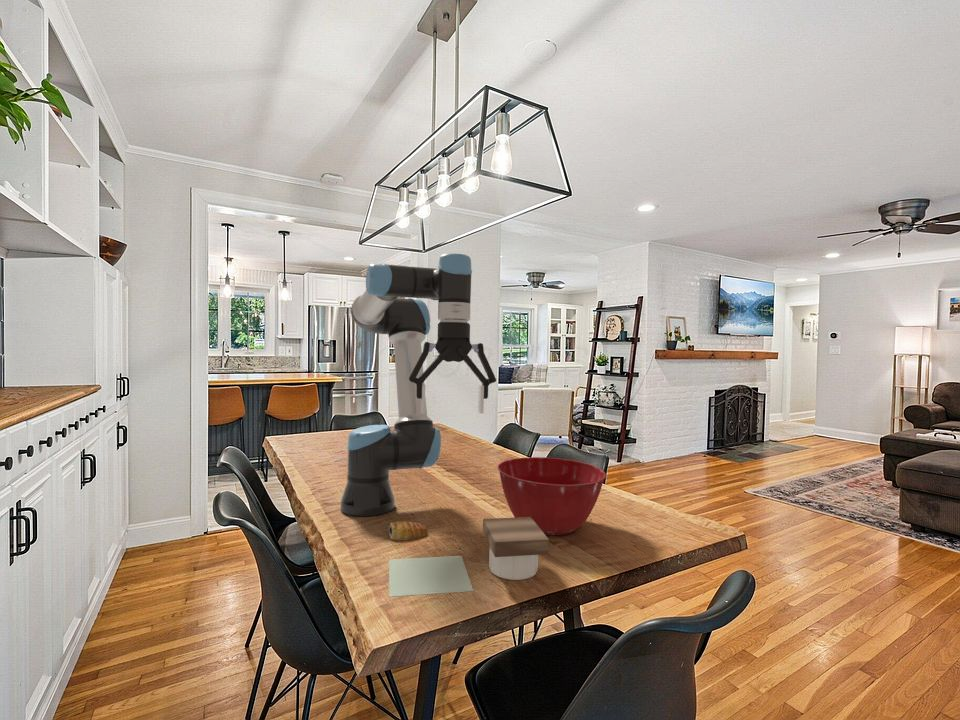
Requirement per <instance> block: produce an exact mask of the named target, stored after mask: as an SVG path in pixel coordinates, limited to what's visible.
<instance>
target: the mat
mask: <svg viewBox="0 0 960 720" xmlns="http://www.w3.org/2000/svg"><path fill="white" fill-rule="evenodd" d="M388 573H389V574H388V590H389V591H388V597H389V598H392V597H393V598H394V597H407V596H409V597H410V596H419V595H420V596H422V595H434V594H435V595H436V594H437V595H438V594H448V593H451V594H452V593H453V594H454V593H462V592H463V593H465V592H474V589H473V586H472V583H471V580H470V577H469V573H468V571H467V568H466V565H465V562H464V560H463V556H462V555H451V556H450V555H448V556H447V555H446V556H429V557H428V556H427V557H413V558H397V559H395V558H394V559H388Z"/></svg>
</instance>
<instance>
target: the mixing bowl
mask: <svg viewBox="0 0 960 720" xmlns="http://www.w3.org/2000/svg"><path fill="white" fill-rule="evenodd" d="M497 470H498V472H499V479H500V482H501V487H502V490H503V494H504V496H505V499H506V502H507V505H508V508H509V509H510V511H511V513H512V515H513V518H518V517H531V518H532V519H533V520H534V522H535V523H536V524H537V525H538V527H539V528H540V529H541V530H542V532H543V533H544V534H545V535H546V536H562V535H568V534H570V533H572V532H573V531H575V530H577V529H580V527H582V526H583V525H584V524H585V522H586V521H587V520H588V518H589V516H590V515H591V513H592V511H593V510H594V507H595V506H596V502H597V501H598V498H599V496H600V493H601V490H602V487H603V484H604V480H605V479H606V477H607V474H606V472H605V471H604V470H603V469H602V468H599V467H598V466H596V465H593V464H589V463H587V462H584V461H583V462H581V461H578V460H574V459H564V458H559V457H558V458H557V457H545V456H544V457H542V456H541V457H540V456H538V457H537V456H535V457H534V456H533V457H532V456H531V457H530V456H529V457H517V458H511V459H507V460H503V461H501V462H500V463H498V464H497Z"/></svg>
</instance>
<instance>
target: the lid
mask: <svg viewBox="0 0 960 720" xmlns="http://www.w3.org/2000/svg"><path fill="white" fill-rule="evenodd" d="M482 534H483V535H484V536H483V537H484V538H485V539H486V542H487V544H488V546H489V549H490V548H491V550H492V552H493V554H494V556H495V557H507V556H525V555H538V556H540V555H542V556H543V555H549V547H550V546H549V544H550V539H549V538H548V537H547V535H545V534H544V533H543V532H542V530H541V529H540V528H539V527H538V525H537V524H536V523H535V522H534V520H533V519H532V518H531V517H518V518H515V517H503V518H502V517H499V518H498V517H497V518H483V519H482Z"/></svg>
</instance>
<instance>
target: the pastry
mask: <svg viewBox="0 0 960 720" xmlns="http://www.w3.org/2000/svg"><path fill="white" fill-rule="evenodd" d="M388 533H389V534H388V536H389V538H390V540H392V541H407V540H408V541H409V540H414V539H418V538H422V537H424V536H427V534H428V530H427V526H426V525H424V524H422V523H417V522H413V521H407V520H403V521H400V520H398V521H397V520H396V521H395V522H390V525H388Z"/></svg>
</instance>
